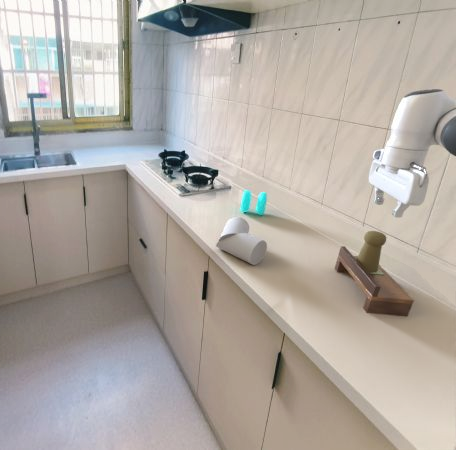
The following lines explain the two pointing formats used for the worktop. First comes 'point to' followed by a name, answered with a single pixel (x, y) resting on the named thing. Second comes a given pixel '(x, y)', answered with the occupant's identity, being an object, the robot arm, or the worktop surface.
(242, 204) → the cyan twin rounded posts
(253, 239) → the bent grey cylinder
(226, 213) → the worktop surface
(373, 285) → the shelf
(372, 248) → the olive pawn shape
